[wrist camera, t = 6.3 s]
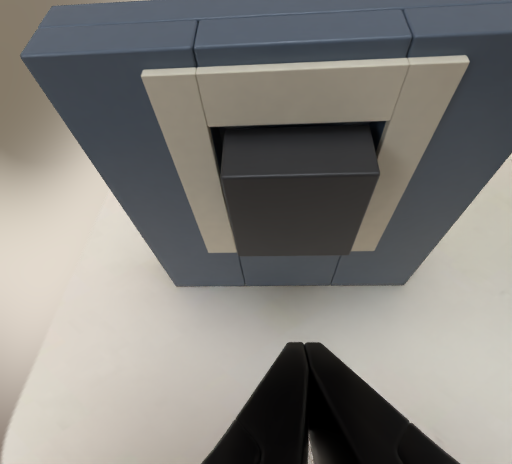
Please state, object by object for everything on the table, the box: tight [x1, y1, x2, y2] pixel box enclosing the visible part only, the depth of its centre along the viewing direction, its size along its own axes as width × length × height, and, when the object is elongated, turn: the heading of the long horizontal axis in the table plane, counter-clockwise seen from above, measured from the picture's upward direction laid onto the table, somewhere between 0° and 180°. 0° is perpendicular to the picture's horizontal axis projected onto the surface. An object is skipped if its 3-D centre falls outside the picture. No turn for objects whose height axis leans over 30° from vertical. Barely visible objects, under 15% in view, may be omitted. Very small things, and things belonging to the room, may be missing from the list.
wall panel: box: [20, 0, 512, 286], centre depth 15 cm, size 3×14×15 cm, turn 89°
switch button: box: [220, 125, 380, 257], centre depth 12 cm, size 2×4×5 cm, turn 89°
